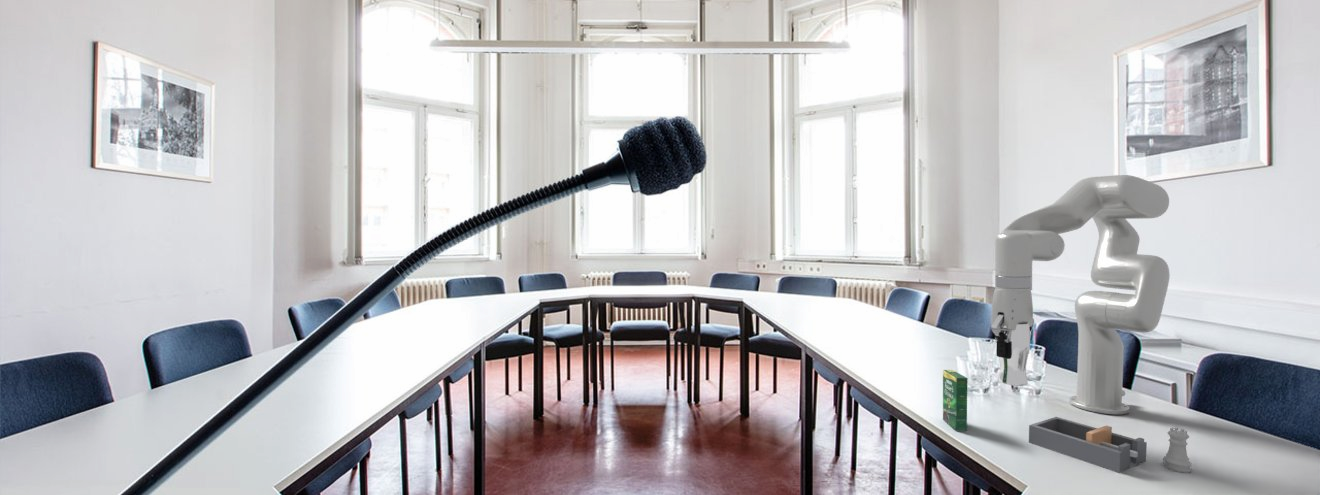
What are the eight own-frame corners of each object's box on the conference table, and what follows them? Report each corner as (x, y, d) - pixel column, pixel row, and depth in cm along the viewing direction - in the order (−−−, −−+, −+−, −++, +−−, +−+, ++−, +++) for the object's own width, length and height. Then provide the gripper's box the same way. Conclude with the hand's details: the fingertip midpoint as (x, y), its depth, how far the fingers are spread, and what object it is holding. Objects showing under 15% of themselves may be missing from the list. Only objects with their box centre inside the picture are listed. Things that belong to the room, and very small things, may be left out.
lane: (1055, 433, 128) (1056, 412, 128) (1146, 461, 113) (1146, 437, 113) (1028, 442, 123) (1029, 420, 122) (1119, 472, 108) (1120, 448, 107)
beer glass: (1035, 386, 128) (1036, 324, 127) (1003, 386, 129) (1003, 324, 128) (1022, 378, 134) (1022, 319, 134) (991, 377, 136) (991, 318, 135)
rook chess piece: (1155, 464, 111) (1157, 426, 111) (1175, 463, 112) (1177, 425, 111) (1178, 474, 107) (1179, 434, 107) (1198, 473, 107) (1200, 433, 107)
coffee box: (941, 419, 137) (942, 368, 137) (953, 419, 137) (954, 369, 136) (954, 431, 129) (955, 377, 129) (967, 431, 129) (968, 378, 128)
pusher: (1105, 447, 118) (1106, 425, 118) (1145, 460, 112) (1146, 436, 111) (1085, 455, 114) (1086, 432, 114) (1126, 468, 108) (1127, 444, 107)
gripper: (1017, 278, 138) (1017, 347, 139) (976, 284, 130) (976, 357, 131) (1050, 281, 131) (1049, 353, 132) (1008, 287, 123) (1007, 364, 124)
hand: (1012, 354), depth 131 cm, fingers closed on beer glass, 6 cm apart
